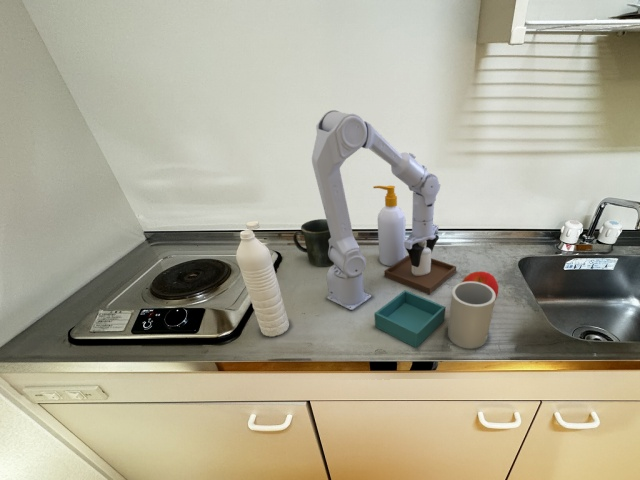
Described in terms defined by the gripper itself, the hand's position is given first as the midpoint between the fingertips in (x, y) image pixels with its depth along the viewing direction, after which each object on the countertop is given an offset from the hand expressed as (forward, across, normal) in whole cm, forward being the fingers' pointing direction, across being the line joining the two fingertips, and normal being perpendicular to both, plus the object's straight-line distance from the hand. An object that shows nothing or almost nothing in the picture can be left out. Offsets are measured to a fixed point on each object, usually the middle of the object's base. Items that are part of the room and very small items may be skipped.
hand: (421, 261), depth 94 cm
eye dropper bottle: (+4, 0, 0) cm, 4 cm away
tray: (+4, 0, 0) cm, 4 cm away
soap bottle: (+5, +2, +13) cm, 14 cm away
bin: (+4, -21, -11) cm, 24 cm away
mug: (+4, -12, +32) cm, 34 cm away
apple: (+4, -5, -22) cm, 23 cm away
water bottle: (+4, -41, +15) cm, 44 cm away
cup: (+4, -16, -24) cm, 29 cm away
